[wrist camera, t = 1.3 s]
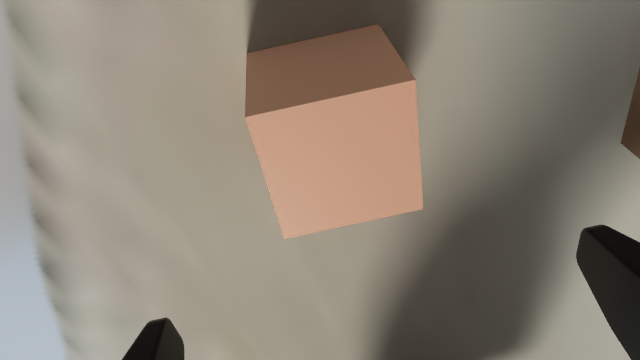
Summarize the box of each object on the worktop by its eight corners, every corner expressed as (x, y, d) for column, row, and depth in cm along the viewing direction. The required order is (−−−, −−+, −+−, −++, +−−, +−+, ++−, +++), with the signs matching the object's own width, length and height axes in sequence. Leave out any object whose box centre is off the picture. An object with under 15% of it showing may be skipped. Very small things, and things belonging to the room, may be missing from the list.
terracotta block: (389, 135, 18) (423, 209, 15) (277, 159, 18) (284, 238, 15) (377, 23, 16) (415, 79, 12) (246, 52, 16) (245, 117, 12)
